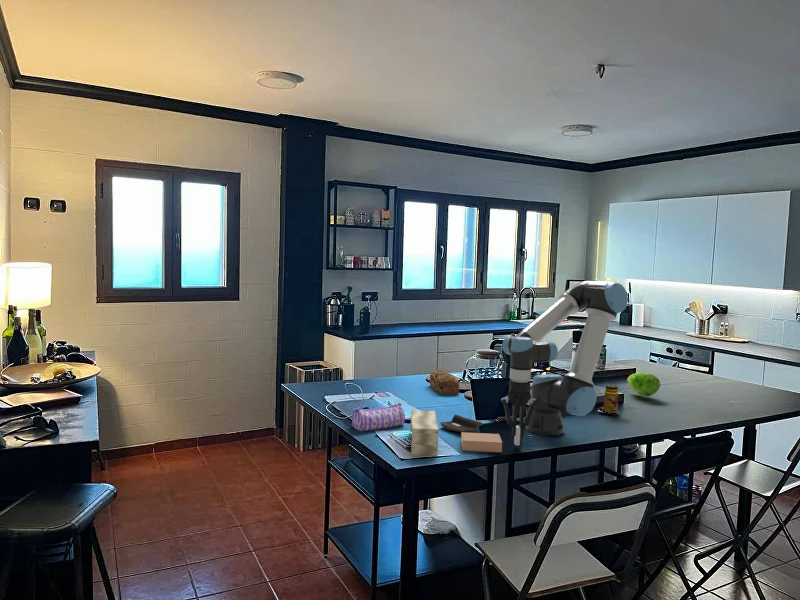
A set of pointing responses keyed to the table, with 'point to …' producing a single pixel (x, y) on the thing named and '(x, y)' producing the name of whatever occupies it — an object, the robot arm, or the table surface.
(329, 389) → the table surface
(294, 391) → the table surface
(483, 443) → the tile
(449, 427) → the pottery fragment
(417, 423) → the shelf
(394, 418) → the pencil case
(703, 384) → the table surface
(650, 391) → the green mango
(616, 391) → the condiment
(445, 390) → the bread
